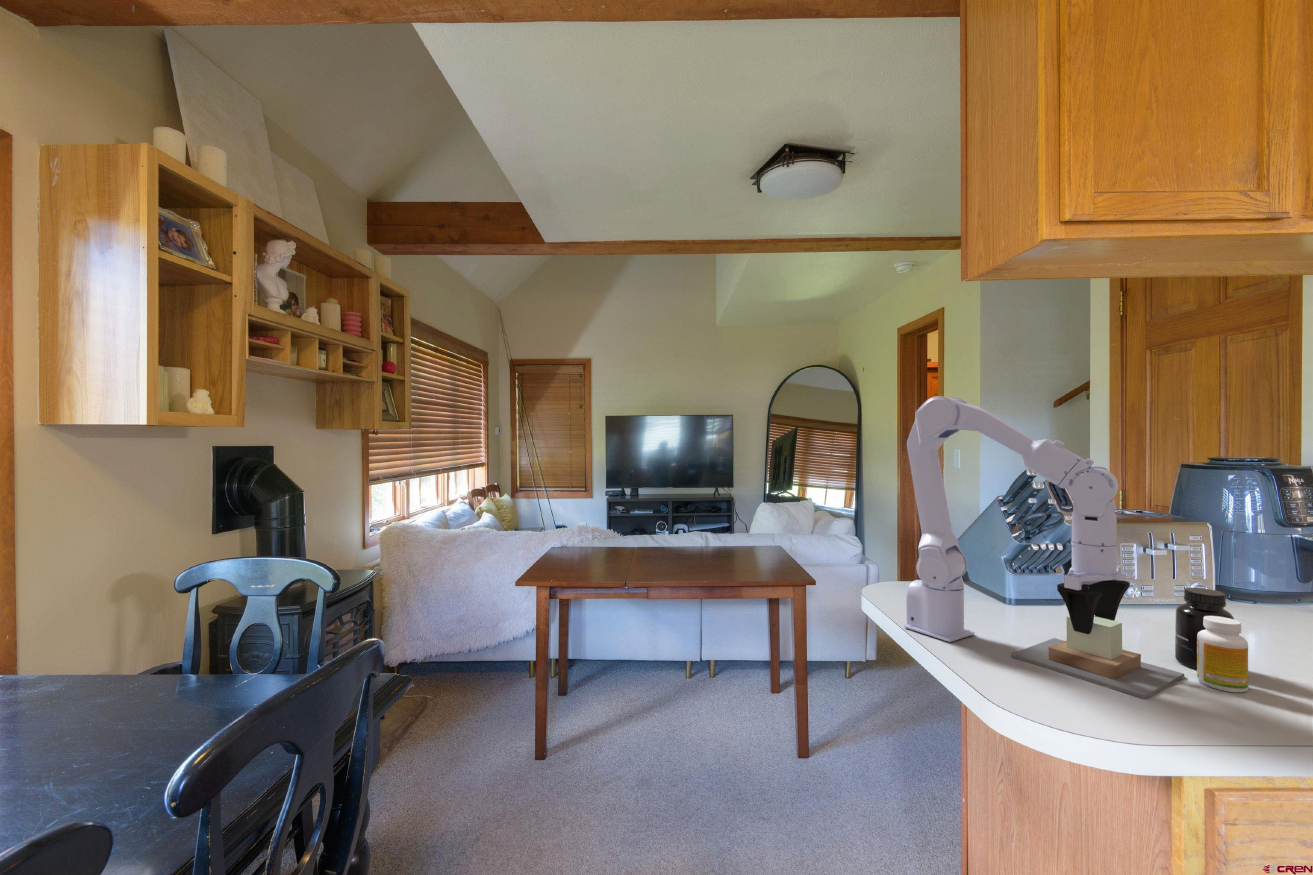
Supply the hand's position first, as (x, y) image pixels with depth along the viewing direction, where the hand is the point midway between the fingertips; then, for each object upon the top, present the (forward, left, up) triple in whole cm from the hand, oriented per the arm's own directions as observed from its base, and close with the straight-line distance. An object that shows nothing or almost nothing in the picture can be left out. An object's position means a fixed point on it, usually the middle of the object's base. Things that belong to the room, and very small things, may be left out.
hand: (1093, 627), depth 92 cm
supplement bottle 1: (+9, +15, -6) cm, 19 cm away
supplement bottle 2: (+13, +8, -6) cm, 17 cm away
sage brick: (0, 0, -4) cm, 4 cm away
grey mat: (0, 0, -6) cm, 6 cm away
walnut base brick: (0, 0, -6) cm, 6 cm away
